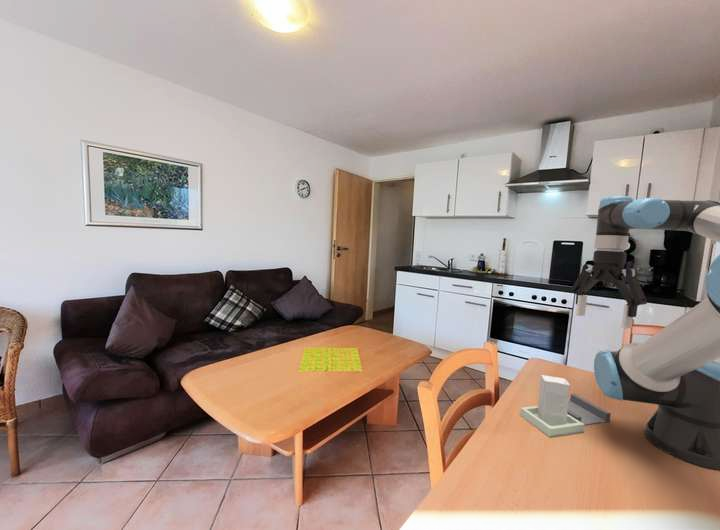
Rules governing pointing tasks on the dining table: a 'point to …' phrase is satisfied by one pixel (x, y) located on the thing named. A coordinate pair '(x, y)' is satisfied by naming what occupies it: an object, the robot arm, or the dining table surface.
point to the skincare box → (553, 400)
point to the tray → (551, 430)
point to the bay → (586, 411)
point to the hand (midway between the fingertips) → (601, 321)
